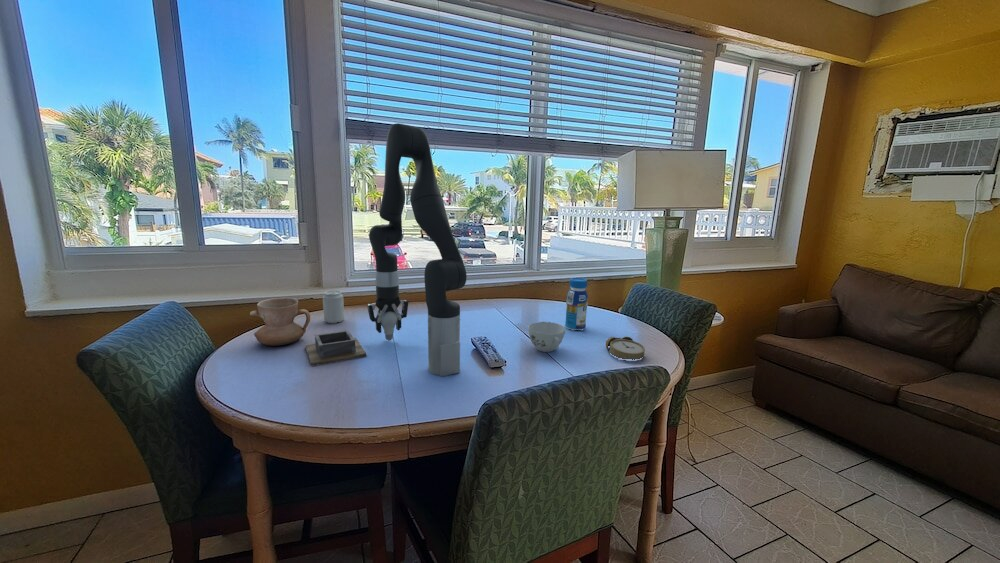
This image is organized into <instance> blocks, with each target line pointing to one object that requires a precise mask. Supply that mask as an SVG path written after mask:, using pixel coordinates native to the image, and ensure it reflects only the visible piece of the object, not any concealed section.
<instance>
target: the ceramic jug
mask: <svg viewBox="0 0 1000 563" xmlns="http://www.w3.org/2000/svg"><path fill="white" fill-rule="evenodd" d="M256 305H257V306H256V307H257V310H252V311H250V313H249V315H250V316H251V317H252V316H257V317H260V318H261V319H262V321H263V322H264V323H265V324H264V325H262V326H261V327H260V328H259V329H258V330H257V331H255V332H254V333H253V335H254V337H255V339H256V341H257V342H259V344H262V345H265V346H270V347H271V346H272V347H275V346H276V347H277V346H286V345H289V344H292V343H294V342H296V341H297V342H298V340H300V339H301V338H302V337H303V336H304V335H305V333H306V331H307V328H308V326H309V324H310V321H311V314H310V312H309V310H307V309H303V308H301V309H298V308H299V300H298V299H297V298H293V297H274V298H269V299H264V300H263V299H262V300H261V301H259V302H258V303H257V304H256ZM299 314H304V315H305V323H304V325H303V326H302V325H300V323H298V322H295V318H296V317H297V316H298V315H299Z"/></svg>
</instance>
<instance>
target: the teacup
mask: <svg viewBox="0 0 1000 563" xmlns="http://www.w3.org/2000/svg"><path fill="white" fill-rule="evenodd" d="M527 328H528V336H529V339H530V341H531V343H532V344H533V346H534V347H535V348H536V349H537V350H538V351H540V352H544V353H550V352H554V351H556V350H558V349H559V348H560V344H562V342H563V339H564V338H565V337H564V336H565V334H566V327H565V325H563V324H561V323H556V322H551V321H538V322H534V323H531V324H530V325H528V327H527Z"/></svg>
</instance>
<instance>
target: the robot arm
mask: <svg viewBox="0 0 1000 563" xmlns="http://www.w3.org/2000/svg"><path fill="white" fill-rule="evenodd" d="M385 148H386V149H385V163H384V183H383V184H384V185H383V192H382V196H381V201H380V206H379V212H378V214H379V217H380V218H381V219H382V220H384V221H386V222H388V224H376V225H375V224H374V225H373V226H371V228H370V230H369V233H368V238H369V243H370V245H371V249H372V252H373V255H374V258H375V293H376V294H375V296H376V297H375V298H376V300H375V302H374V303H367V304H366V308H367V312H368V316H369V320H370V321H371V322H373V323H375V330H376V332H378V334H381V333H382V325H381V322H380V321H381V318H382V317H383V316H384V313H386V312H395V314H396V315H397V318H398V319H397V323H396V325H395V330H397V331H400V330H401V329H402V319H405V318H407V315H408V308H409V301H408V300H407V299H400V286H399V285H400V282H399V281H400V280H399V278H400V277H399V272H398V256H397V254H395V253H394V252H388V251H387V250H386V247H389V246H390V247H391V246H396V245H397V246H398V245H399V244H400V243H401V241H402V239H403V221H402V215H403V211H404V206H405V201H406V191H405V188H404V184H403V182H402V178H401V174H400V164H401V160H402V158H408V159H412V161H413V163H414V167H415V172H416V173H415V174H416V177H415V181H414V183H413V186H412V189H411V192H410V198H409V199H410V200H409V201H410V204H411V209H412V212H413V217H414V219H415V222H416V223H417V225H418V226H419V228H420V229H421V230H422V231H423V232H424V233H425V234H426V235H427V236H428V238H430V240H431V241H432V242H433V243H434V244H435V245H436V248H437V249H438V252H439V254H440V257H441V259H440V258H439V259H432V260H429V261H428V262H427V263H426V265H425V268H424V290H425V292H424V293H425V303H426V307H427V346H428V347H427V348H428V349H427V354H428V356H427V358H428V372H429V373H431V374H433V375H435V376H436V375H437V376H439V377H445V376H450V375H454V374H459V373H460V372H461V341H460V339H461V338H460V337H461V333H460V332H461V307H460V303H458V302H456V301H453V300H448V299H447V292H450V291H455V290H460V289H462V288H464V287H465V285H466V282H467V270H466V269H467V268H466V266H465V263H464V259H463V258H462V254H461V253H460V251H459V248H458V244H457V243H456V241H455V238H454V235H453V231H452V228H451V225H450V223H449V218H448V214H447V210H446V207H445V203H444V200H443V196H442V194H441V190H440V188H439V184H438V180H437V176H436V173H435V168H434V164H433V158H432V156H433V155H432V151H431V147H430V141H429V138H428V134H427V133H426V131H425V130H424V129H422V128H421V127H419V126H414V125H411V124H403V123H399V122H398V123H396V122H395V123H394V124H392V125H391V126H390V127H389V130H388V132H387V137H386V146H385ZM399 306H401V313H400V311H399V309H398V307H399ZM375 307H377V309H378V310H377V313H376V316H375V313H374V311H375V309H376V308H375Z"/></svg>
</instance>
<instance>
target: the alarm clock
mask: <svg viewBox="0 0 1000 563" xmlns="http://www.w3.org/2000/svg"><path fill="white" fill-rule="evenodd" d="M608 346H610V349H609V350H608ZM605 349H607V350H608V353H609V352H610V353H611V354H612V355H614V356H616V357H618V358H622V359H632V360H633V359H634V360H635V359H640V358H642V357H643V359H646V358H647V357H646V356H645V352H646V348H645V347H644V345H643V344H642V343H639V342H637V341H635V340H634V339H633V338H631V337H630V336H623V337H616V336H615V337H612V336H611V337H608V338H607V339H606V341H605ZM610 353H609V354H610Z"/></svg>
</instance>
